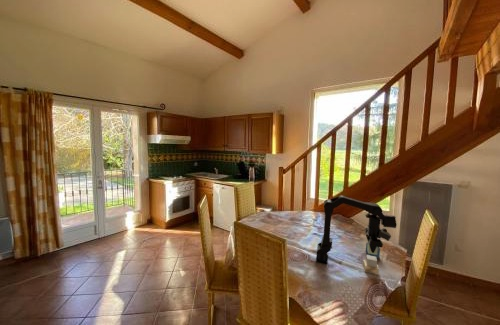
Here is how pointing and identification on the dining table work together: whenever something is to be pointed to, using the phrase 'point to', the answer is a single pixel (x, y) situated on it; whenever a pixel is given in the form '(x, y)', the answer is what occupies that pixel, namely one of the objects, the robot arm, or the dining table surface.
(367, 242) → the perfume bottle
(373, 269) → the beech slab
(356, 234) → the dining table surface
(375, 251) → the sage cube
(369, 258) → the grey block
